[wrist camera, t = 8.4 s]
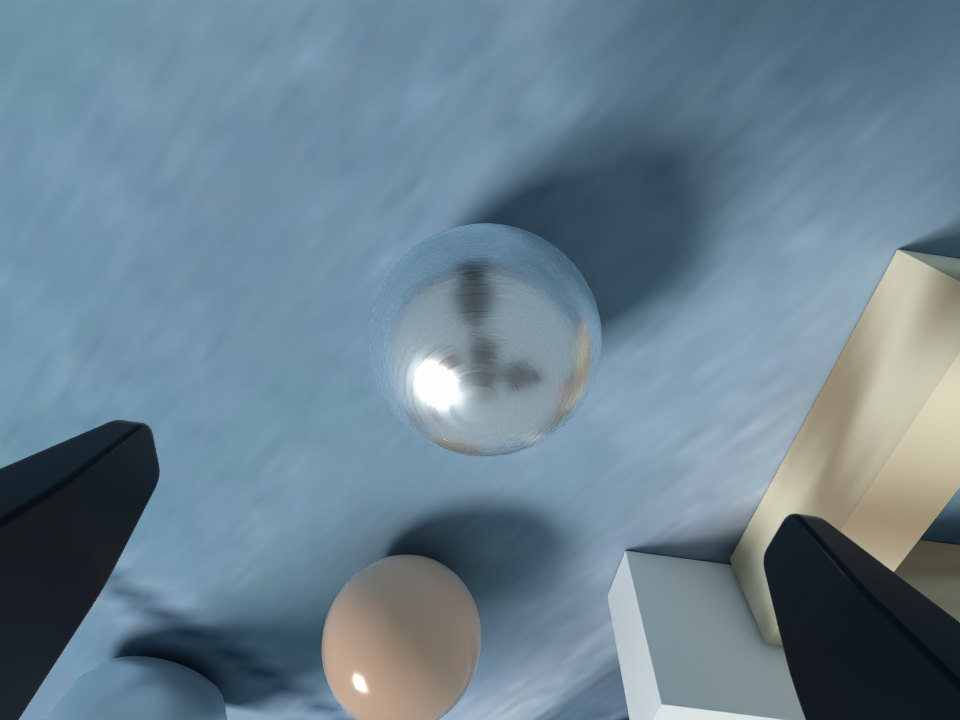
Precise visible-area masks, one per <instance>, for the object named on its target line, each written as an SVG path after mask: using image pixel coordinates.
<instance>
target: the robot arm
mask: <svg viewBox="0 0 960 720" xmlns="http://www.w3.org/2000/svg"><path fill="white" fill-rule="evenodd" d="M159 471H160V470H159V463H158V458H157V453H156V448H155V443H154V438H153V433H152V430H151V429H150V427H149V426H148V425H146V424H144V423H139V422H132V421H125V420H114V421H111V422H109V423H106V424H104V425H102V426H99V427H97V428H95V429H92V430H90V431H88V432H85V433H83V434H80V435H78V436H76V437H73V438H71V439H69V440H66V441H64V442H62V443H59V444H57V445H55V446H52V447H50V448H48V449H45V450H43V451H41V452H38V453H36V454H34V455H31V456H29V457H27V458H24V459H22V460H20V461H17V462H15V463H13V464H10V465H8V466H6V467H3V468H1V469H0V720H19V718H20V717H21V715H22V713H23V712H24V710H25V709H26V707H27V706H28V704H29V702H30V701H31V699H32V698H33V696H34V695H35V693H36V692H37V690H38V689H39V687H40V686H41V684H42V683H43V681H44V679H45V678H46V676H47V675H48V673H49V672H50V670H51V669H52V667H53V666H54V664H55V663H56V661H57V660H58V658H59V656H60V655H61V653H62V652H63V650H64V649H65V647H66V646H67V644H68V643H69V641H70V639H71V638H72V636H73V635H74V633H75V632H76V630H77V629H78V627H79V626H80V624H81V623H82V621H83V619H84V618H85V616H86V615H87V613H88V612H89V610H90V609H91V607H92V606H93V604H94V602H95V601H96V599H97V598H98V596H99V594H100V593H101V591H102V589H103V588H104V586H105V584H106V582H107V581H108V579H109V577H110V575H111V573H112V572H113V570H114V568H115V566H116V564H117V562H118V560H119V558H120V556H121V554H122V552H123V550H124V548H125V546H126V544H127V542H128V540H129V538H130V536H131V535H132V533H133V531H134V529H135V527H136V525H137V523H138V521H139V519H140V517H141V515H142V513H143V511H144V509H145V507H146V505H147V503H148V501H149V499H150V497H151V495H152V494H153V492H154V490H155V488H156V485H157V483H158V479H159ZM763 564H764V571H765V575H766V579H767V584H768V588H769V592H770V596H771V600H772V604H773V608H774V612H775V616H776V621H777V625H778V629H779V633H780V637H781V641H782V645H783V649H784V654H785V658H786V661H787V665H788V668H789V672H790V676H791V679H792V682H793V685H794V688H795V691H796V694H797V697H798V700H799V703H800V706H801V709H802V711H803V714H804V717H805V720H960V622H959V621H958V620H956V619H955V618H954V617H952V616H951V615H950V614H948V613H947V612H946V611H944V610H943V609H942V608H940V607H939V606H938V605H936V604H935V603H934V602H932V601H931V600H930V599H929V598H927V597H926V596H925V595H923V594H922V593H921V592H919V591H918V590H917V589H915V588H914V587H913V586H911V585H910V584H909V583H907V582H906V581H905V580H904V579H902V578H901V577H900V576H898V575H897V574H896V573H894V572H893V571H892V570H890V569H889V568H888V567H886V566H885V565H884V564H882V563H881V562H880V561H878V560H877V559H876V558H875V557H873V556H872V555H871V554H869V553H868V552H867V551H865V550H864V549H863V548H861V547H860V546H859V545H857V544H856V543H855V542H853V541H852V540H851V539H850V538H848V537H847V536H846V535H844V534H843V533H842V532H840V531H839V530H838V529H836V528H835V527H834V526H832V525H831V524H830V523H828V522H827V521H826V520H824V519H822V518H820V517H817V516H811V515H804V514H797V513H794V514H790V515H788V516H787V517H786V518H785V519H784V520H783V522H782V523H781V525H780V527H779V528H778V530H777V532H776V533H775V535H774V537H773V538H772V540H771V542H770V543H769V545H768V547H767V549H766V551H765V554H764V560H763Z"/></svg>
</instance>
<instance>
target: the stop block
mask: <svg viewBox="0 0 960 720" xmlns="http://www.w3.org/2000/svg"><path fill="white" fill-rule="evenodd" d="M607 597H608V603H609V608H610V614H611V619H612V625H613V630H614V636H615V641H616V646H617V652H618V657H619V663H620V668H621V674H622V679H623V685H624V690H625V696H626V701H627V707H628V712H629V718H630V720H805V717H804V714H803V711H802V709H801V706H800V703H799V700H798V697H797V694H796V691H795V688H794V685H793V682H792V679H791V676H790V672H789V668H788V665H787V661H786V658H785V654H784V649H783V645H779V644H771V643H766V642H765V640H764V638H763V635H762V633H761V631H760V628H759V626H758V624H757V622H756V619H755V617H754V615H753V612H752V610H751V608H750V605H749V603H748V601H747V598H746V596H745V594H744V592H743V589H742V587H741V585H740V582H739V580H738V578H737V575H736V573H735V571H734V568H733V566H732V565H728V564H721V563H713V562H706V561H698V560H691V559H684V558H676V557H669V556H661V555H654V554H647V553H639V552H632V551H625V553H624V556H623V558H622V561H621V563H620V566H619V568H618V571H617V573H616V576H615V578H614V580H613V583H612V585H611V588H610V590H609V593H608V595H607Z"/></svg>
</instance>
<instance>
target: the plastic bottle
mask: <svg viewBox="0 0 960 720" xmlns="http://www.w3.org/2000/svg"><path fill="white" fill-rule="evenodd" d="M44 720H227V715H226V709H225V703H224V699H223V696H222V694H221V692H220V691H219V689H218V688H217V687H216V686H215V685H214V684H213V683H212V682H211V681H210V680H209V679H207V678H206V677H204V676H203V675H201V674H200V673H198V672H196V671H194V670H192V669H190V668H188V667H186V666H183V665H180V664H178V663H175V662H172V661H168V660H164V659H160V658H153V657H146V656H127V657H119V658H115V659H111V660H109V661H107V662H105V663H103V664H101V665H99V666H98V667H96V668H94V669H92V670H91V671H89V672H87V673H85V674H84V675H82V676H81V677H80V678H79V679H77V680H76V681H75V682H74V684H73V685H72V686H71V687H70V688H69V689H68V690H67V692H66V693H65V694H64V695H63V696H62V697H61V699H59V701H58V702H57V703H56V704H55V705H54V706H53V707H52V709H51V710H50V711H49V712H48V713H47V715H46V716H45V718H44Z"/></svg>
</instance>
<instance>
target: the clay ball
mask: <svg viewBox="0 0 960 720" xmlns="http://www.w3.org/2000/svg"><path fill="white" fill-rule="evenodd" d="M481 643H482V634H481V623H480V617H479V613H478V610H477V607H476V604H475V601H474V599H473V597H472V595H471V593H470V592H469V590H468V588H467V587H466V585H465V584H464V583H463V581H462V580H461V579H460V578H459V577H458V576H457V575H456V574H455V573H454V572H453V571H452V570H450V569H449V568H448V567H446V566H445V565H443V564H442V563H440V562H438V561H435V560H433V559H430V558H428V557H424V556H419V555H411V554H404V555H394V556H389V557H386V558H382V559H380V560H377V561H375V562H373V563H371V564H369V565H368V566H366V567H364V568H363V569H361V570H360V571H359V572H357V573H356V574H355V575H354V576H353V577H352V578H351V579H350V580H349V581H348V582H347V583H346V584H345V585H344V587H343V588H342V589H341V590H340V592H339V593H338V595H337V597H336V598H335V600H334V602H333V604H332V606H331V608H330V610H329V613H328V616H327V618H326V621H325V626H324V630H323V638H322V662H323V668H324V673H325V676H326V679H327V682H328V684H329V687H330V689H331V691H332V693H333V694H334V696H335V698H336V700H337V701H338V702H339V704H340V705H341V706H342V707H343V708H344V710H345V711H346V712H347V713H348V714H349V715H351V716H352V717H353V718H355V719H356V720H439V719H440V718H442V717H443V716H444V715H446V714H447V713H448V712H449V711H450V710H451V709H452V708H453V707H454V706H455V705H456V704H457V703H458V702H459V701H460V699H461V698H462V697H463V695H464V694H465V692H466V691H467V689H468V687H469V685H470V684H471V682H472V680H473V677H474V675H475V672H476V669H477V666H478V662H479V658H480V652H481Z"/></svg>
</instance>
